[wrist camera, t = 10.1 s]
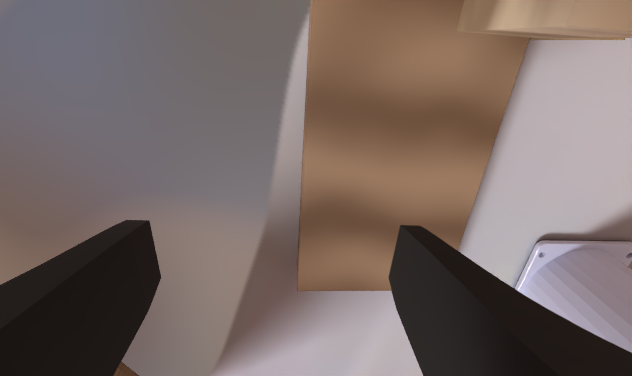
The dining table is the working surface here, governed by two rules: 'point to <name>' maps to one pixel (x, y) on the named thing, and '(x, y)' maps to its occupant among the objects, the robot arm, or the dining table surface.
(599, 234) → the dining table surface
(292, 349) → the dining table surface
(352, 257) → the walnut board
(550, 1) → the tan wood block
